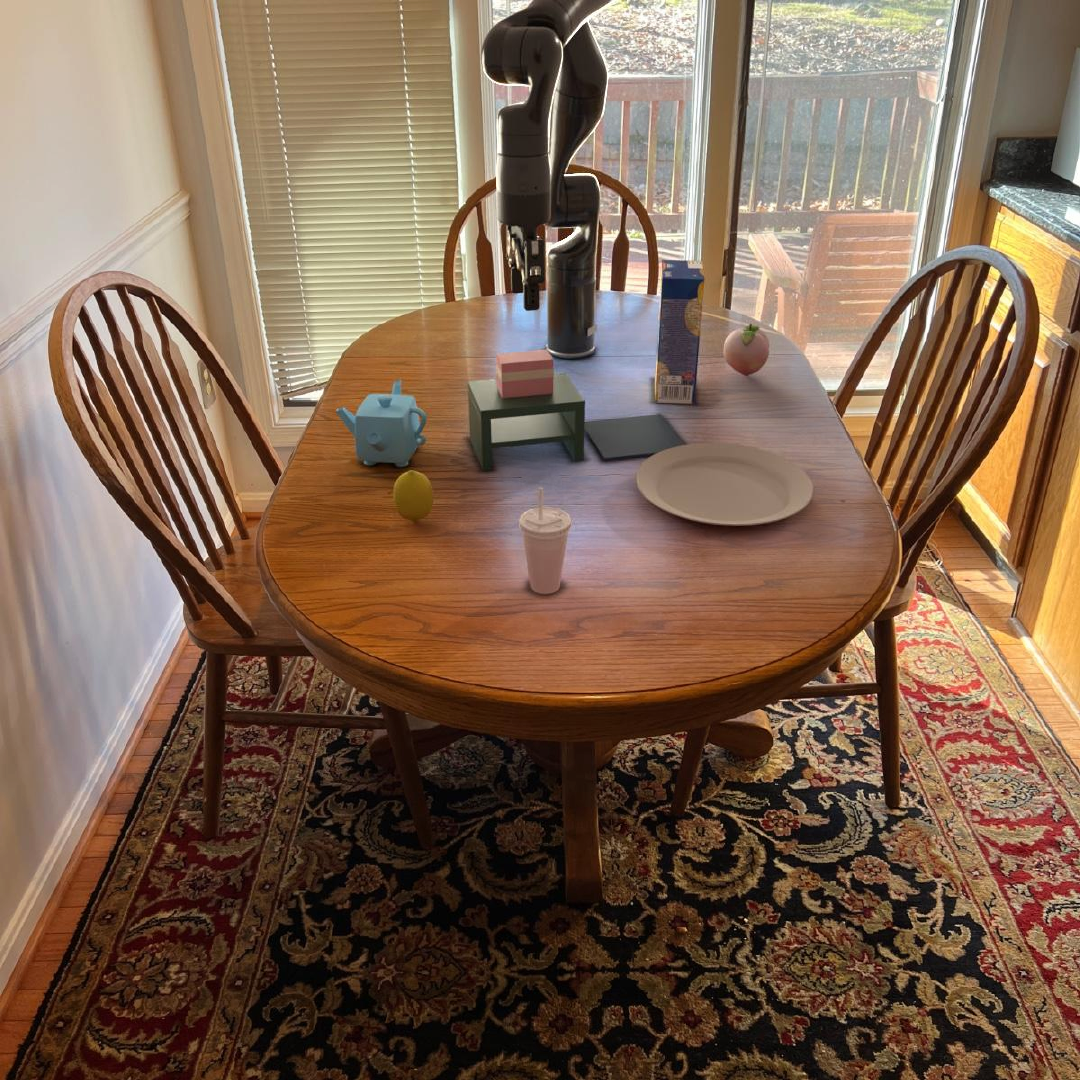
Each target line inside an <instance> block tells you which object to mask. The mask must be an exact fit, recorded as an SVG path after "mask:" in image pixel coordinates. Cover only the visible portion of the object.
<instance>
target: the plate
mask: <svg viewBox="0 0 1080 1080" xmlns="http://www.w3.org/2000/svg"><path fill="white" fill-rule="evenodd" d="M635 484H636V487H637V490H638V491H639V492H640V494H641V495H642V496H643V497H644V498H645V499H646V500H647V501H648V502H650V503H651V504H652V505H654V506H655V507H657V508H659V509H660V510H663V511H665V512H667V513H669V514H671V515H674V516H676V517H680V518H683V519H686V520H689V521H693V522H699V523H703V524H707V525H714V526H728V527H738V526H739V527H740V526H755V525H763V524H770V523H774V522H778V521H781V520H784V519H787V518H789V517H792V516H794V515H796V514H798V513H799V512H801V511H802V510H803V509H805V508H806V507H807V506H808V505H809V504H810V502H811V500H812V498H813V496H814V484H813V482H812V480H811V478H810V477H809V475H808V474H807V472H806V471H804V470H803V469H802V468H801V467H800V466H799V465H797V464H796V463H794V462H793V461H791V460H790V459H787V458H785V457H783V456H781V455H779V454H777V453H774V452H771V451H769V450H765V449H761V448H758V447H754V446H748V445H744V444H743V445H742V444H735V443H726V442H725V443H724V442H698V443H689V444H685V445H682V446H677V447H673V448H669V449H666V450H663V451H661V452H658V453H656V454H654V455H652V456H648V458H646V459H645V460H644V461H643V462H642V463H641V464H640V466H639V467H638V468H637V471H636V473H635Z"/></svg>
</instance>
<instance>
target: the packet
mask: <svg viewBox="0 0 1080 1080" xmlns="http://www.w3.org/2000/svg"><path fill="white" fill-rule="evenodd" d="M495 361H496V362H495V373H496V379H497V389H498V391H499V393H500V395H501V397H502V398H513V397H523V396H534V395H544V394H553V377H554V373H555V369H554V368H555V367H554V358H553V356H552V355H550V354H549V352H548V351H547V348H546V349H536V350H535V349H534V350H524V351H523V350H522V351H512V352H511V351H510V352H501V353H500V352H499V353H495Z"/></svg>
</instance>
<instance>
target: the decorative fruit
mask: <svg viewBox="0 0 1080 1080" xmlns="http://www.w3.org/2000/svg"><path fill="white" fill-rule="evenodd" d="M760 328H761V327H760V326H759V325H758V324H754V323H748V324H747V325H746V326H745V327H740V328H737V329H735V330H733V331H732V332H731V333H729V335H728V336H727V337H726V339H725V341H724V344H723V350H722V351H723V357H724V359H725V360H724V361H726V363H727V364H728V366H730V368H732V369H733V370H734V371H735V372H737V373H738V374H741V375H743V376H744V377H747V376H750V375H753V374H755V373H757V372H759V371H760V370H761V369H762V368H763V367H764V365H765V364H766V363H767V361H768V359H769V355H770V341H769V338H768V335H766V333H765V332H764V331H763V330H762V329H760Z"/></svg>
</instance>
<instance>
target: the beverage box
mask: <svg viewBox="0 0 1080 1080" xmlns="http://www.w3.org/2000/svg"><path fill="white" fill-rule="evenodd" d="M660 265H661V267H660V282H659V283H660V284H659V297H658V298H659V299H658V316H657V318H658V319H657V334H656V335H657V336H656V351H655V352H656V354H655V368H654V369H655V370H654V371H655V372H654V403H656V404H657V403H658V404H660V403H661V404H663V403H664V404H686V405H687V404H689V405H691V404H693V405H695V401H696V390H697V379H698V378H697V377H698V366H699V365H698V364H699V354H700V341H701V329H702V316H703V315H702V314H703V306H704V305H703V303H704V291H705V290H704V289H705V280H706V279H705V273H704V267H703V261H702V260H685V259H683V260H682V259H661V264H660Z"/></svg>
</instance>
